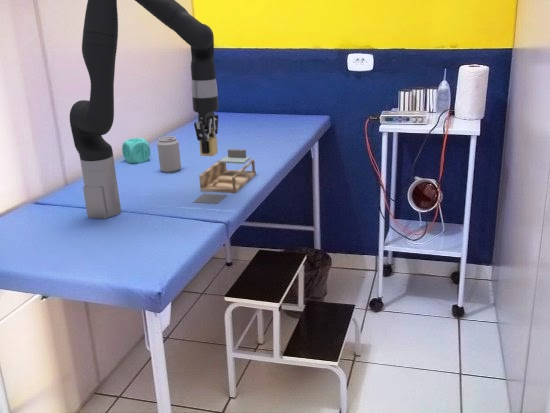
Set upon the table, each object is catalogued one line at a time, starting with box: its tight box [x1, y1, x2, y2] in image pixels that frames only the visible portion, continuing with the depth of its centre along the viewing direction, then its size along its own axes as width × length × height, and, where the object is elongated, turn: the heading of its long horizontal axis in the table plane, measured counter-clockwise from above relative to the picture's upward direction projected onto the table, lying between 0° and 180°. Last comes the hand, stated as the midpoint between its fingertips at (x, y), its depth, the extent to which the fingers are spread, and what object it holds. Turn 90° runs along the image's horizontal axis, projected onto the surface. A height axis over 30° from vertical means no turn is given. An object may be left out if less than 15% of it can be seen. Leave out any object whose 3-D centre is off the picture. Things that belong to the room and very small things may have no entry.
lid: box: [218, 148, 252, 165], centre depth 204 cm, size 6×9×3 cm
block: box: [199, 136, 219, 157], centre depth 183 cm, size 4×4×5 cm
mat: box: [192, 193, 228, 205], centre depth 185 cm, size 8×8×1 cm
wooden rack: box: [198, 157, 257, 194], centre depth 199 cm, size 20×12×6 cm, turn 163°
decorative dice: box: [121, 137, 152, 164], centre depth 231 cm, size 8×8×8 cm
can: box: [156, 135, 182, 174], centre depth 216 cm, size 8×8×12 cm
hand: (208, 151), depth 183 cm, fingers closed on block, 4 cm apart
